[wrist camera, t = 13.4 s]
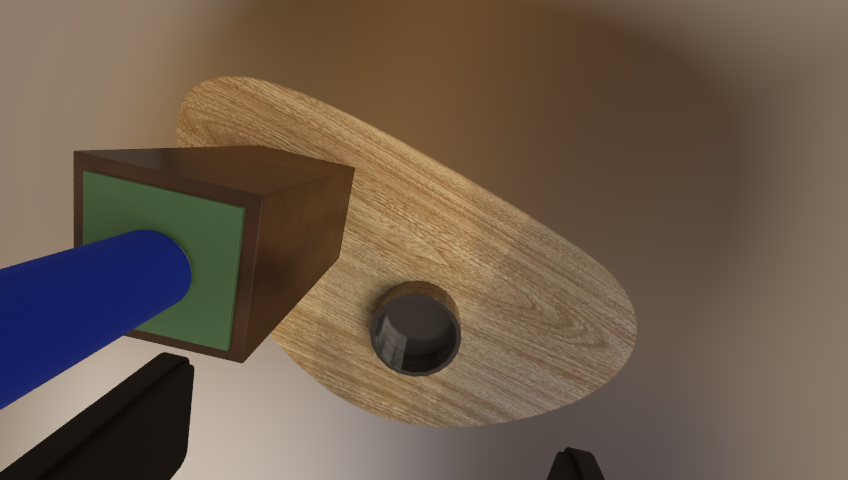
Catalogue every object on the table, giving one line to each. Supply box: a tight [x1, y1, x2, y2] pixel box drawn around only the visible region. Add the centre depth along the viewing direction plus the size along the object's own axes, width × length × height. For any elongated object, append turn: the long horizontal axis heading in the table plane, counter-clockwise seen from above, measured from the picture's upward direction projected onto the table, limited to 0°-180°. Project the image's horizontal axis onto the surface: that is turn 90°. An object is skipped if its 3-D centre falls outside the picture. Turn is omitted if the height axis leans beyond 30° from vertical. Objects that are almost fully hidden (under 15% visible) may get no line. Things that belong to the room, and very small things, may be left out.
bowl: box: [370, 281, 461, 377], centre depth 51 cm, size 11×11×4 cm
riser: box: [74, 146, 355, 363], centre depth 38 cm, size 12×12×25 cm
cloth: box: [83, 171, 246, 351], centre depth 25 cm, size 10×10×1 cm
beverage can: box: [0, 229, 192, 410], centre depth 18 cm, size 5×5×15 cm
